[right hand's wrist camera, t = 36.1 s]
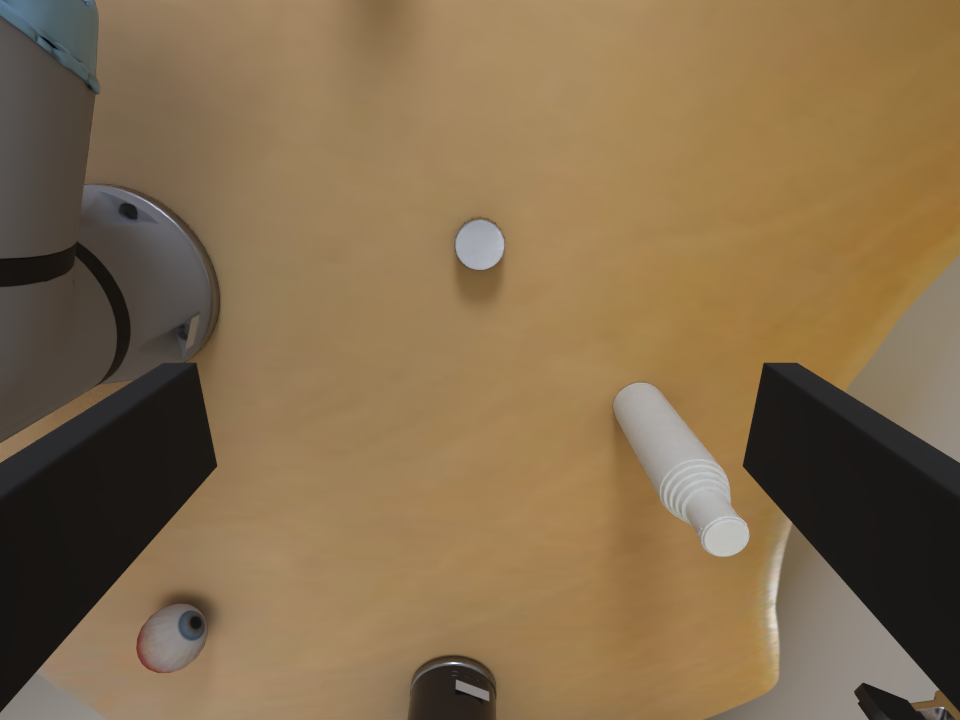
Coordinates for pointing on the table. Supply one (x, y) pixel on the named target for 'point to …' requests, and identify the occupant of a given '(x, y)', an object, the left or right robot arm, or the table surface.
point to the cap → (479, 244)
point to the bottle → (680, 468)
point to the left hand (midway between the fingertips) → (921, 651)
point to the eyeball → (172, 638)
